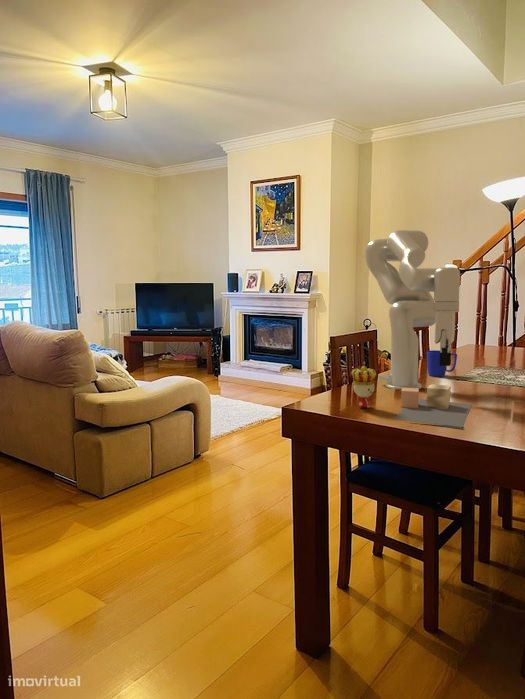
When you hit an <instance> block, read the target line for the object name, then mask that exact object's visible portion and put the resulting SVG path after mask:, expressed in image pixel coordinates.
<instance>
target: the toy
mask: <svg viewBox="0 0 525 699" xmlns="http://www.w3.org/2000/svg"><path fill="white" fill-rule="evenodd" d="M363 364H364V365H363V366H361V368H354V369H353V370H352V371H351V377H352V378H353V381H352V384H353V392H354V393H355V395H356V396H358V397H360V398H361V399H360V400H359V401H358V402H357V403H358V407H360V410H366V409H367V408H369V407H370V404H369V403H370V401H371V398H370V396H371V395H373V393H374V391H375V377H376V376H377V372H376V370H375V369H374V368H373V369H372V368H367V366H366V365H365V364H366V362H365V360H364V361H363Z"/></svg>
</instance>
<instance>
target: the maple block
mask: <svg viewBox="0 0 525 699" xmlns="http://www.w3.org/2000/svg"><path fill="white" fill-rule="evenodd" d="M426 400H427V407H429V408H439V409H448V407H449V406H450V402H451V385H446V384H445V385H443V384H429V385H428V386H427V388H426Z"/></svg>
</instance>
